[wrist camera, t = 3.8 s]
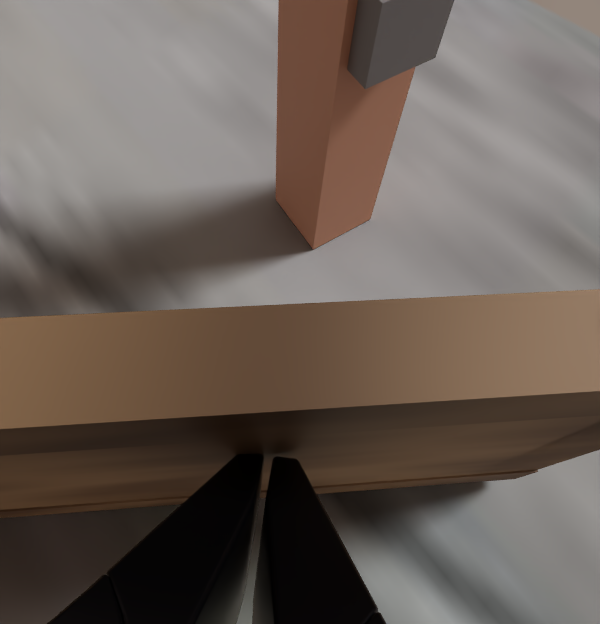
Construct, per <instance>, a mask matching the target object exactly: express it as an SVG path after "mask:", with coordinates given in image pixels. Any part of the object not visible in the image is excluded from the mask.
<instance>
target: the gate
mask: <svg viewBox="0 0 600 624" xmlns="http://www.w3.org/2000/svg"><path fill="white" fill-rule="evenodd" d="M596 450H600V289H598V290H577V291H556V292H535V293H514V294H493V295H472V296H451V297H430V298H409V299H388V300H367V301H347V302H326V303H305V304H284V305H263V306H242V307H221V308H200V309H179V310H158V311H137V312H116V313H95V314H74V315H53V316H33V317H12V318H0V518H8V517H21V516H34V515H47V514H61V513H74V512H87V511H100V510H113V509H126V508H139V507H152V506H165V505H179V504H182V503H184V502H185V501H186V500H187V499H188V498H189V497H190V496H191V495H192V494H193V493H195V492H196V491H197V490H198V489H199V488H200V487H201V486H202V485H203V484H205V483H206V482H207V481H208V480H209V479H210V478H211V477H212V476H213V475H214V474H216V473H217V472H218V471H219V470H220V469H221V468H222V467H223V466H224V465H226V464H227V463H228V462H229V461H230V460H231V459H232V458H233V457H234V456H235V455H237V454H262V455H263V456H264V467H263V476H262V484H261V492H260V498H266V494H267V488H268V483H269V477H270V472H271V466H272V460H273V458H274V457H276V456H280V457H287V458H295V459H297V460H298V461H299V462H300V464H301V466H302V468H303V470H304V471H305V473H306V475H307V477H308V479H309V481H310V483H311V485H312V486H313V488H314V490H315V492H316V494H323V493H336V492H349V491H362V490H375V489H389V488H402V487H415V486H428V485H441V484H454V483H467V482H480V481H493V480H507V479H516V478H519V477H522V476H526V475H529V474H532V473H535V472H538V469H541V468H544V467H547V466H550V465H553V464H556V463H559V462H562V461H566V460H569V459H572V458H575V457H578V456H581V455H584V454H587V453H590V452H593V451H596Z"/></svg>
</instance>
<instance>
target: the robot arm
mask: <svg viewBox="0 0 600 624" xmlns="http://www.w3.org/2000/svg"><path fill="white" fill-rule="evenodd" d="M263 467H264V456H263V455H262V454H237V455H235V456H234V457H233V458H232V459H231V460H230V461H229V462H228V463H227V464H226V465H224V466H223V467H222V468H221V469H220V470H219V471H218V472H217V473H216V474H214V475H213V476H212V477H211V478H210V479H209V480H208V481H207V482H206V483H205V484H203V485H202V486H201V487H200V488H199V489H198V490H197V491H196V492H195V493H193V494H192V495H191V496H190V497H189V498H188V499H187V500H186V501H185V502H184V503H182V504H181V505H180V506H179V507H178V508H177V509H176V510H175V511H174V512H173V513H171V514H170V515H169V516H168V517H167V518H166V519H165V520H164V521H163V522H161V523H160V524H159V525H158V526H157V527H156V528H155V529H154V530H153V531H152V532H150V533H149V534H148V535H147V536H146V537H145V538H144V539H143V540H142V541H140V542H139V543H138V544H137V545H136V546H135V547H134V548H133V549H132V550H131V551H129V552H128V553H127V554H126V555H125V556H124V557H123V558H122V559H121V560H119V561H118V562H117V563H116V564H115V565H114V566H113V567H112V568H111V569H110V570H108V572H107V575H103V576H101V577H100V578H99V579H98V580H97V581H96V582H95V583H94V584H93V585H92V586H90V587H89V588H88V589H87V590H86V591H85V592H84V593H83V594H81V595H80V596H79V597H78V598H77V599H76V600H74V601H73V602H72V603H71V604H70V605H69V606H67V607H66V608H65V609H64V610H63V611H62V612H60V613H59V614H58V615H57V616H56V617H55V618H53V619H52V620H51V621H50V622H48V623H47V624H236V622H237V619H238V615H239V612H240V608H241V604H242V600H243V596H244V591H245V586H246V581H247V575H248V569H249V562H250V556H251V550H252V544H253V538H254V532H255V526H256V520H257V513H258V507H259V500H260V492H261V484H262V476H263ZM252 624H386V622H385V620H384V619H383V617H382V615H381V613H379V612H378V608H377V606H376V604H375V602H374V600H373V598H372V597H371V595H370V593H369V591H368V589H367V587H366V585H365V584H364V582H363V580H362V578H361V576H360V574H359V572H358V570H357V569H356V567H355V565H354V563H353V561H352V559H351V557H350V555H349V554H348V552H347V550H346V548H345V546H344V544H343V542H342V541H341V539H340V537H339V535H338V533H337V531H336V529H335V527H334V526H333V524H332V522H331V520H330V518H329V516H328V514H327V513H326V511H325V509H324V507H323V505H322V503H321V501H320V499H319V498H318V496H317V494H316V492H315V490H314V488H313V486H312V485H311V483H310V481H309V479H308V477H307V475H306V473H305V471H304V470H303V468H302V466H301V464H300V462H299V461H298V460H297V459H295V458H287V457H280V456H276V457H274V458H273V460H272V466H271V472H270V477H269V483H268V488H267V494H266V501H265V509H264V517H263V525H262V533H261V541H260V549H259V557H258V565H257V573H256V581H255V590H254V598H253V616H252Z"/></svg>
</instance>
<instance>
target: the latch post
mask: <svg viewBox="0 0 600 624" xmlns="http://www.w3.org/2000/svg"><path fill="white" fill-rule="evenodd" d="M453 2H454V0H279V15H278V80H277V145H276V201H277V202H278V203H279V205H280V206H281V207H282V209H283V210H284V211H285V213H286V214H287V215H288V217H289V218H290V219H291V221H292V222H293V223H294V225H295V226H296V227H297V229H298V230H299V231H300V233H301V234H302V235H303V237H304V238H305V239H306V241H307V242H308V243H309V245H310V246H311V247H312V249H315V248H317V247H319V246H321V245H323V244H324V243H326V242H328V241H330V240H332V239H334V238H336V237H338V236H339V235H341V234H343V233H345V232H347V231H349V230H351V229H353V228H354V227H356V226H358V225H360V224H362V223H364V222H366V221H368V220H369V219H370V218H371V215H372V212H373V208H374V205H375V202H376V198H377V195H378V191H379V188H380V185H381V181H382V178H383V175H384V171H385V168H386V165H387V161H388V158H389V154H390V151H391V148H392V144H393V141H394V138H395V134H396V131H397V128H398V124H399V121H400V117H401V114H402V111H403V107H404V104H405V101H406V97H407V94H408V90H409V87H410V84H411V80H412V77H413V74H414V70H415V67H416V66H418V65H420V64H422V63H425V62H427V61H429V60H431V59H433V58H435V57H436V54H437V51H438V48H439V45H440V42H441V39H442V36H443V33H444V29H445V26H446V23H447V20H448V17H449V14H450V11H451V8H452V5H453Z"/></svg>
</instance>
